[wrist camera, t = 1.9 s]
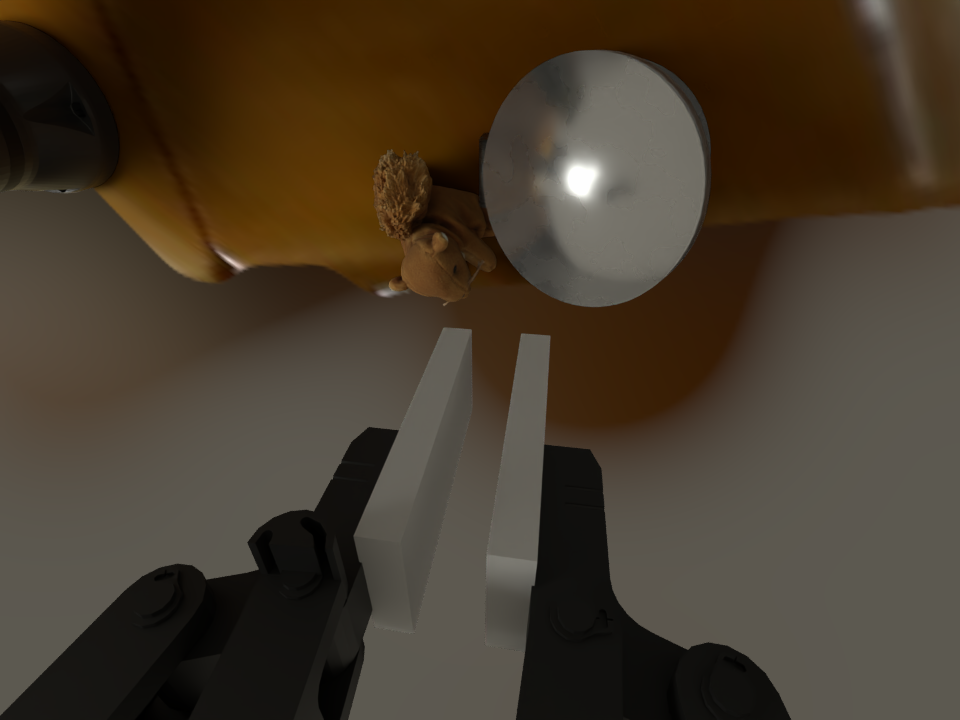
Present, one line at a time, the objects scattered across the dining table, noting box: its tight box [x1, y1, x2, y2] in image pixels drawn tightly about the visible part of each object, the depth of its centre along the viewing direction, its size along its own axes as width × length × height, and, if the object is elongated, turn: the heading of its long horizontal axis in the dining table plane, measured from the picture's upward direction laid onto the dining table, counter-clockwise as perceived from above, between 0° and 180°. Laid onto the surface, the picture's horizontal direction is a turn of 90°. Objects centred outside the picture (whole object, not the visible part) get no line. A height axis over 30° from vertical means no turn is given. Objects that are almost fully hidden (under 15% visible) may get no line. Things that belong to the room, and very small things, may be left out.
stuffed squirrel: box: [373, 150, 496, 306], centre depth 43 cm, size 10×14×13 cm
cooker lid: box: [479, 50, 711, 307], centre depth 30 cm, size 15×15×1 cm
